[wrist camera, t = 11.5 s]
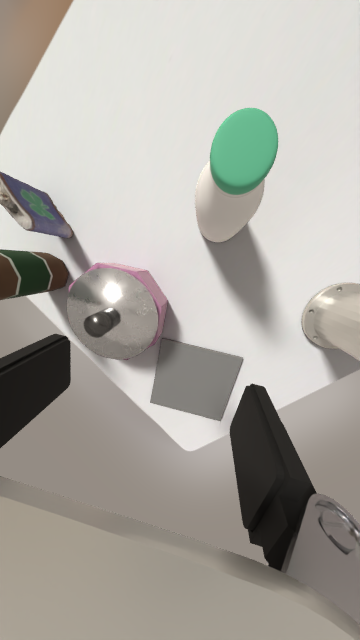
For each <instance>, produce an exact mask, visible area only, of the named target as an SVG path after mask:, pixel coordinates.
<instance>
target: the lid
mask: <svg viewBox="0 0 360 640" xmlns="http://www.w3.org/2000/svg"><path fill="white" fill-rule="evenodd" d="M67 315H68V319H69V322H70V325H71V327H72V330H73V331H74V333H75V335H76V336H77V337H78V339H79V340H80V341H81V342H82V343H83V344H84V345H85V346H86V347H87V348H89V349H90V350H91V351H93V352H95V353H96V354H98V355H101V356H103V357H106V358H110V359H128V358H131V357H134V356H136V355H139V354H140V353H142V352H143V351H144V350H145V349H146V348H147V347H148V346H149V345H150V344H151V342H152V341H153V339H154V337H155V335H156V332H157V328H158V321H159V318H158V310H157V306H156V303H155V300H154V298H153V296H152V294H151V293H150V291H149V290H148V289H147V287H146V286H145V285H144V284H143V283H142V282H141V281H140V280H139V279H137V278H136V277H135V276H133V275H131V274H130V273H127V272H125V271H123V270H119V269H114V268H99V269H94V270H91V271H88V272H86V273H84V274H83V275H82V276H80V277H79V278H78V279H77V280H76V281H75V283H74V284H73V285H72V287H71V289H70V291H69V294H68V298H67Z"/></svg>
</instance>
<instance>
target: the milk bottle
mask: <svg viewBox="0 0 360 640" xmlns="http://www.w3.org/2000/svg"><path fill="white" fill-rule="evenodd" d="M277 149H278V134H277V129H276V126H275V124H274V122H273V120H272V119H271V118H270V116H269V115H268V114H266V113H265V112H263V111H262V110H259V109H256V108H245V109H241V110H238V111H236V112H234V113H233V114H231V115H230V116H229V117H228V118H227V119H226V120H225V121H224V122H223V123H222V124H221V126H220V127H219V129H218V131H217V133H216V135H215V137H214V140H213V143H212V147H211V153H210V161H209V162H208V163H207V164H206V166H205V167H204V169H203V171H202V172H201V175H200V177H199V179H198V182H197V186H196V192H195V208H196V216H197V223H198V227H199V230H200V232H201V233H202V235H203V236H204V237H205V238H206V239H208V240H210V241H212V242H224V241H226V240H228V239H230V238H232V237H233V236H234V235H235V234H236V233H237V232H239V231H240V230H241V229H242V228H243V227H244V226H245V225H246V224H247V223H248V221H249V220H250V219H251V218H252V217H253V215H254V214H255V212H256V211H257V209H258V207H259V205H260V202H261V200H262V196H263V192H264V178H265V177H266V176H267V174H268V173H269V171H270V169H271V167H272V165H273V163H274V161H275V158H276V154H277Z"/></svg>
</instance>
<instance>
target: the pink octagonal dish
mask: <svg viewBox="0 0 360 640" xmlns="http://www.w3.org/2000/svg"><path fill="white" fill-rule="evenodd" d="M99 268H114V269H119V270H123V271H125V272H127V273H130V274H131V275H133V276H135V277H136V278H137V279H139V280H140V281H141V282H142V283H143V284H144V285H145V286H146V287H147V289H148V290H149V291H150V293H151V294H152V296H153V298H154V300H155V303H156V306H157V310H158V318H159V321H158V328H157V332H156V335H155V337H154V339H153V341H152V342H151V344H150V345H149V346H148V347H147V348H149V347H150V346H152V345H154V344H155V343H156V341H157V340H158V338H159V336H160V335H161V333H162V331H163V326H164V320H165V315H166V309H167V304H168V300H167V298H166V297H165V295H164V294H163V292H162V291H161V289H160V288H159V286H158V285H157V283H156V282H155V280H154V279H153V277H152V276H151V274H150V273H149V271H147V270H143V269H139V268H134V267H130V266H125V265H121V264H116V263H96V264H95V265H93V266H92V267H91V268H90V269H89V270H87V271H86V272H88V271H91V270H94V269H99ZM86 272H85V273H86ZM82 275H83V274H82ZM82 275H81V276H82ZM76 280H77V279H76ZM76 280H75V281H76ZM75 281H74V282H73V283H72V284H70V285H69V291H70V289H71V287H72V285H73V284H74V283H75ZM147 348H146V349H147ZM128 359H130V358H128ZM128 359H124V360H128Z"/></svg>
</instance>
